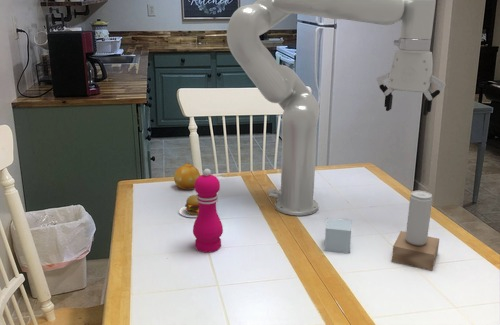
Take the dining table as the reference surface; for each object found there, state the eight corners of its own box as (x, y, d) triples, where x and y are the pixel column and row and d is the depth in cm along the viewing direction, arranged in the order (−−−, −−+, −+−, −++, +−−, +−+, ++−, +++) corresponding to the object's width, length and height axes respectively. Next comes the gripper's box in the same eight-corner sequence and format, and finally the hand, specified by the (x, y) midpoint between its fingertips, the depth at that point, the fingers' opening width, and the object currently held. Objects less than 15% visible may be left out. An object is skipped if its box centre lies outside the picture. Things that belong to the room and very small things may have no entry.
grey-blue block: (324, 251, 123) (325, 228, 122) (325, 240, 129) (327, 218, 127) (349, 253, 122) (351, 230, 120) (350, 242, 128) (351, 220, 126)
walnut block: (391, 261, 119) (393, 245, 117) (399, 245, 126) (400, 230, 125) (432, 270, 115) (434, 254, 113) (437, 253, 122) (439, 238, 121)
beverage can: (427, 247, 117) (434, 198, 113) (406, 245, 118) (411, 197, 114) (425, 238, 121) (431, 191, 117) (404, 236, 122) (409, 189, 118)
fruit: (193, 173, 169) (184, 156, 164) (209, 181, 164) (199, 164, 159) (176, 190, 166) (165, 173, 161) (190, 199, 161) (180, 182, 156)
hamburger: (164, 214, 144) (164, 196, 143) (196, 202, 153) (196, 185, 151) (193, 226, 137) (192, 207, 135) (224, 214, 145) (224, 196, 144)
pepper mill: (227, 242, 127) (227, 166, 121) (216, 255, 120) (215, 175, 114) (200, 237, 129) (199, 162, 123) (188, 250, 123) (186, 171, 116)
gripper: (376, 44, 130) (370, 110, 135) (448, 49, 122) (438, 119, 127) (384, 42, 136) (378, 106, 141) (452, 46, 128) (443, 113, 133)
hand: (406, 112), depth 134 cm, fingers open, 9 cm apart
